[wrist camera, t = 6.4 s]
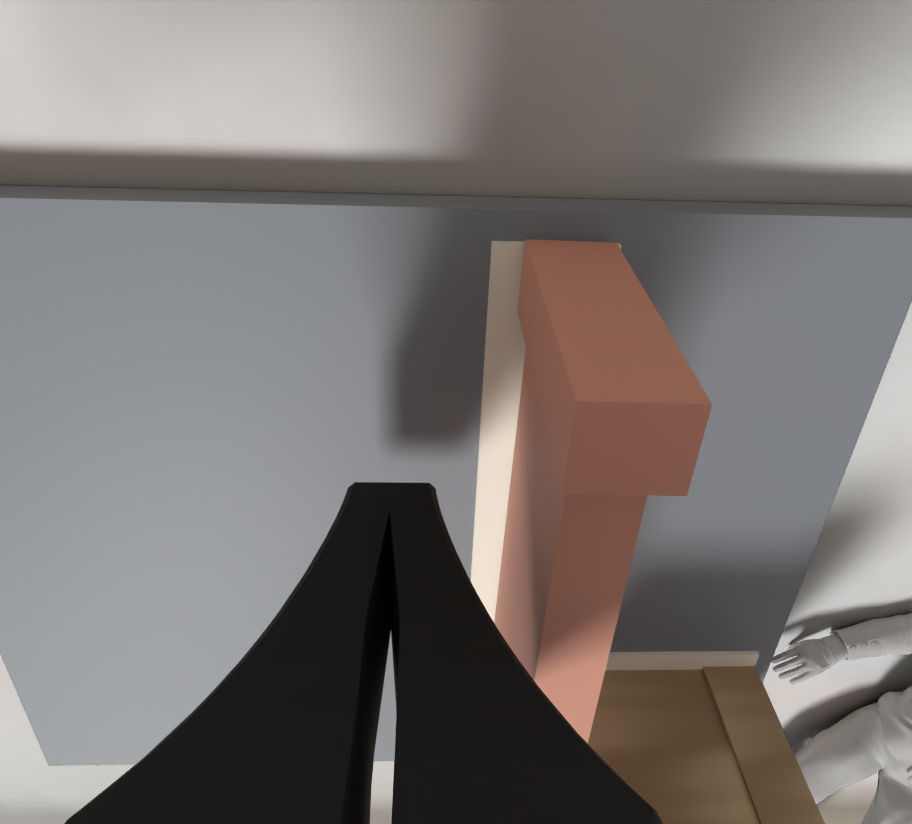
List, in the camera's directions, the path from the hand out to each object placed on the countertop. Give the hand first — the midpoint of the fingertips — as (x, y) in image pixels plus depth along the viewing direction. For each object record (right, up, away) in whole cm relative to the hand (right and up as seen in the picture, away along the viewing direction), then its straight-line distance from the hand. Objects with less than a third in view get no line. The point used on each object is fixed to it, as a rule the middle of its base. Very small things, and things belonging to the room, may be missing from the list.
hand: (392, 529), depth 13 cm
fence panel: (+3, 0, +2) cm, 3 cm away
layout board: (0, -1, +3) cm, 3 cm away
